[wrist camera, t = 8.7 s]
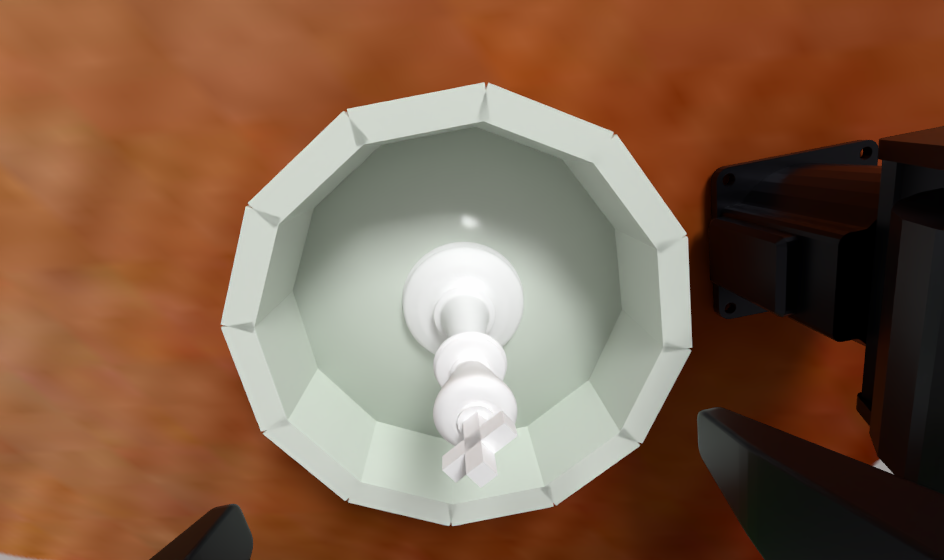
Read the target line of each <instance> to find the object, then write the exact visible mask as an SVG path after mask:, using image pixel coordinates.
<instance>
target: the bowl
mask: <svg viewBox="0 0 944 560" xmlns="http://www.w3.org/2000/svg"><path fill="white" fill-rule="evenodd" d="M347 111H348V112H345V111H343V112H342V113H341V114H340V115H339V116H338V117H337V118H336V119H335V120H334V121H333V122H331V123H330V124H329V125H328V126H327V127H326V128H325V129H324V130H323V131H322V132H321V133H320V134H319V135H318V136H317V137H316V138H315V139H314V140H313V141H312V142H311V143H310V144H309V145H308V146H307V147H306V148H304V149H303V150H302V151H301V152H300V153H299V154H298V155H297V156H296V157H295V158H294V159H293V160H292V161H291V162H290V163H289V164H288V165H287V166H286V167H285V168H284V169H283V170H282V171H281V172H280V173H279V174H278V175H276V176H275V177H274V178H273V179H272V180H271V181H270V182H269V183H268V184H267V185H266V186H265V187H264V188H263V189H262V190H261V191H260V192H259V193H258V194H257V195H256V196H255V197H254V198H253V199H252V200H251V201H250V202H248V204H249V206H246V208H245V213H244V218H243V222H242V227H241V232H240V236H239V241H238V246H237V250H236V255H235V260H234V264H233V269H232V274H231V279H230V283H229V288H228V293H227V297H226V302H225V307H224V311H223V316H222V321H221V325H224V326H222V327H221V329H222V331H223V334H224V337H225V339H226V342H227V344H228V347H229V350H230V352H231V355H232V357H233V360H234V363H235V365H236V368H237V370H238V373H239V376H240V378H241V381H242V383H243V386H244V389H245V391H246V394H247V396H248V399H249V402H250V404H251V407H252V409H253V412H254V415H255V417H256V420H257V422H258V425H259V428H260V430H261V431H264V433H263V434H264V435H265V436H266V437H267V438H269V439H270V440H271V441H272V442H273V443H275V444H276V445H277V446H278V447H280V448H281V449H282V450H283V451H284V452H286V453H287V454H288V455H289V456H291V457H292V458H293V459H294V460H295V461H297V462H298V463H299V464H300V465H302V466H303V467H304V468H305V469H306V470H308V471H309V472H310V473H311V474H313V475H314V476H315V477H316V478H317V479H319V480H320V481H321V482H322V483H324V484H325V485H326V486H327V487H328V488H330V489H331V490H332V491H333V492H335V493H336V494H337V495H338V496H339V497H341V498H342V499H343V500H344V501H346V500H347V499H348V498H349V500H348V503H353V504H357V505H361V506H365V507H370V508H374V509H378V510H382V511H387V512H391V513H395V514H399V515H404V516H408V517H412V518H416V519H421V520H425V521H429V522H434V523H438V524H442V525H446V526H449V525H450V523H452V526H456V525H461V524H466V523H472V522H477V521H482V520H487V519H492V518H497V517H502V516H508V515H513V514H518V513H523V512H528V511H533V510H539V509H544V508H549V507H553V503H554V504H555V505H558V504H559V503H560V502H562V501H563V500H565V499H566V498H567V497H569V496H570V495H572V494H573V493H574V492H576V491H577V490H579V489H580V488H582V487H583V486H584V485H586V484H587V483H589V482H590V481H591V480H593V479H594V478H596V477H597V476H598V475H600V474H601V473H603V472H604V471H605V470H607V469H608V468H610V467H611V466H612V465H614V464H615V463H617V462H618V461H620V460H621V459H622V458H624V457H625V456H627V455H628V454H629V453H631V452H632V451H634V450H635V449H636V448H638V447H639V446H640V444H639V443H643V441H644V439H645V438H646V436H647V434H648V432H649V430H650V428H651V426H652V424H653V422H654V421H655V419H656V417H657V415H658V413H659V411H660V409H661V407H662V405H663V404H664V402H665V400H666V398H667V396H668V394H669V392H670V390H671V388H672V387H673V385H674V383H675V381H676V379H677V377H678V375H679V373H680V371H681V370H682V368H683V366H684V364H685V362H686V360H687V358H688V356H689V355H690V353H691V350H690V349H689V348H692V327H691V303H690V278H689V253H688V237H686V236H685V235H686V234H687V233H686V232H685V231H684V229H683V228H682V226H681V225H680V223H679V222H678V221H677V219H676V218H675V216H674V215H673V214H672V212H671V211H670V209H669V208H668V207H667V205H666V204H665V202H664V201H663V199H662V198H661V197H660V195H659V194H658V192H657V191H656V190H655V188H654V187H653V185H652V184H651V182H650V181H649V180H648V178H647V177H646V175H645V174H644V173H643V171H642V170H641V168H640V167H639V165H638V164H637V163H636V161H635V160H634V158H633V157H632V156H631V154H630V153H629V151H628V150H627V148H626V147H625V146H624V144H623V143H622V141H621V140H620V139H619V137H618V136H617V135H613V133H614V132H612V131H609V130H607V129H604V128H602V127H599V126H597V125H594V124H592V123H589V122H587V121H584V120H582V119H579V118H576V117H574V116H571V115H569V114H566V113H564V112H561V111H559V110H556V109H554V108H551V107H549V106H546V105H544V104H541V103H538V102H536V101H533V100H531V99H528V98H526V97H523V96H521V95H518V94H516V93H513V92H511V91H508V90H506V89H503V88H500V87H498V86H495V85H493V84H490V83H488V84H487V86H486V87H485V83H479V84H474V85H469V86H463V87H458V88H453V89H448V90H443V91H438V92H433V93H427V94H422V95H417V96H412V97H407V98H402V99H397V100H391V101H386V102H381V103H376V104H371V105H366V106H361V107H355V108H350V109H347ZM454 242H473V243H478V244H482V245H485V246H488V247H490V248H492V249H494V250H496V251H497V252H499V253H500V254H502V255H503V256H504V257H505V258H506V259H507V260H508V261H509V262H510V263H511V264H512V266H513V267H514V268H515V270H516V272H517V274H518V276H519V278H520V281H521V284H522V288H523V297H524V309H523V315H522V319H521V322H520V324H519V326H518V328H517V330H516V332H515V334H514V335H513V336H512V338H511V339H510V340H509V341H508V342H507V343H506V344H505V345H504V346H503V347H502V348H503V349H504V351H505V354H506V358H507V370H506V374H505V377H504V379H503V382H504V383H505V384H506V385H507V386H508V387H509V388H510V390H511V391H512V393H513V395H514V397H515V399H516V403H517V419H516V423H515V426H516V430H517V435H518V436H517V437H516V438H515V439H513V440H512V441H511V442H509V443H508V444H507V445H505V446H504V447H503V448H501V449H500V450H499V451H497V452H496V453H495V460H496V467H497V473H498V475H497V476H496V477H495V478H493V479H492V480H491V481H489V482H488V483H487V484H485V485H484V486H483V487H481V488H480V487H479V486H478V485H477V484H476V483H475V482H474V481H473V480H472V479H470V478H469V477H468V476H467V475H466V476H464V477H463V478H462V479H460V480H459V481H458V482H455V481H453V480H452V479H451V478H450V477H449V476H448V475H447V474H446V473H445V472H443V471H442V456H443V455H445V454H446V453H447V452H448V451H450V450H451V449H452V448H454V447H455V446H454V445H452V444H450V443H449V442H447V441H446V440H445V439H444V438H443V437H442V436H441V435H440V433H439V432H438V430H437V428H436V426H435V423H434V419H433V407H434V403H435V400H436V397H437V395H438V393H439V392H440V390H441V388H442V387H441V386H440V384H439V383H438V381H437V379H436V377H435V375H434V370H433V361H434V357H435V354H433V353H431V352H429V351H428V350H426V349H425V348H424V347H423V346H421V345H420V344H419V343H418V342H417V341H416V339H415V338H414V337H413V335H412V334H411V332H410V331H409V329H408V327H407V324H406V321H405V318H404V313H403V306H402V294H403V288H404V284H405V281H406V279H407V276H408V274H409V272H410V271H411V269H412V268H413V266H414V265H415V264H416V263H417V262H418V261H419V260H420V259H421V258H422V257H423V256H424V255H425V254H427V253H428V252H430V251H431V250H433V249H435V248H437V247H439V246H442V245H445V244H449V243H454ZM638 442H639V443H638Z"/></svg>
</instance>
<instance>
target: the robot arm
mask: <svg viewBox="0 0 944 560" xmlns="http://www.w3.org/2000/svg"><path fill="white" fill-rule="evenodd" d="M862 149H863V155H862V156H861V157H860V151H861V150H862ZM878 159H881V160H882V166H877V162H878ZM726 174H728V175H729V181H728V182H727V184H725V185H724V184H723V177H724V176H725V175H726ZM711 215H712V220H711V222H710V224H709V259H710V280H711V281H712V282H713V299H714V310H715V312H716V313H717V314H718V315H720V316H721V317H723V318H726V319H732V318H737V317H742V316H747V315H753V314H758V313H763V312H768V311H769V312H771V313H773V314H775V315H777V316H780V317H784V316H787V317H789V318H791V319H793V320H795V321H797V322H799V323H801V324H803V325H805V326H807V327H809V328H811V329H813V330H815V331H817V332H819V333H821V334H823V335H825V336H827V337H829V338H831V339H833V340H835V341H837V342H843V341H848V340H853V341H855V342H857V343H860V344H862V345H864V346H866V350H865V362H864V373H863V384H862V392H860V393H858V395H857V405H856V409H857V411H858V412H859V414H860V415H861V416H862V417H863V419H864V420H865V421H866V422H867V423H868V425H869V426H870V431H869V434H870V437H871V439H872V442H873V445H874V448H875V451H876V453H877V456H878V457H879V458H880V459H881V461H882V462H883V463H885V465H886V466H887V467H888V468H889V469H890V470H891V471H892V472H893V474H891V473H888V472H886V471H883V470H881V469H878V468H876V467H873V466H870V465H868V464H865V463H863V462H860V461H858V460H855V459H853V458H850V457H847V456H845V455H842V454H840V453H837V452H835V451H832V450H829V449H827V448H824V447H822V446H819V445H817V444H814V443H812V442H809V441H806V440H804V439H801V438H799V437H796V436H794V435H791V434H788V433H786V432H783V431H781V430H778V429H776V428H773V427H771V426H768V425H765V424H763V423H760V422H758V421H755V420H753V419H750V418H748V417H745V416H742V415H740V414H737V413H735V412H732V411H730V410H727V409H724V408H721V407H716V408H711V409H706V410H702V411H700V412H699V413H698V417H697V424H698V446H699V451H700V455H701V457H702V459H703V461H704V463H705V464H706V466H707V468H708V469H709V471H710V473H711V475H712V476H713V478H714V480H715V481H716V483H717V485H718V486H719V488H720V490H721V492H722V493H723V495H724V497H725V498H726V500H727V502H728V504H729V505H730V507H731V509H732V510H733V512H734V514H735V515H736V517H737V519H738V521H739V522H740V524H741V525H742V527H743V529H744V530H745V532H746V534H747V535H748V537H749V538H750V539H751V541H752V542H753V544H754V545H755V547H756V548H757V550H758V551H759V552H760V554H761V555H762V556H763V558H764V559H765V560H944V126H942V127H937V128H931V129H926V130H921V131H916V132H911V133H906V134H901V135H895V136H890V137H885V138H881V139H879V147H878V145H877V144H876V142H874V141H872V140H857V141H851V142H846V143H841V144H836V145H831V146H826V147H821V148H815V149H810V150H805V151H800V152H795V153H790V154H785V155H779V156H774V157H769V158H764V159H759V160H754V161H749V162H743V163H738V164H733V165H728V166H723V167H720V168H718V169H717V170H716V171H715V172H714V173H713V175H712V177H711ZM728 303H731V305H730V307H729V308H728V309H727V310H725V306H726V305H727V304H728ZM252 549H253V538H252V534H251V532H250V529H249V527H248V525H247V522H246V520H245V518H244V515H243V513H242V511H241V509H240V507H239V506H238V505H236V504H229V505H224V506H219V507H215V508H213V509H211V510H210V511H209V512H207V513H206V514H205V515H204V516H203V517H201V518H200V519H199V520H198V521H196V522H195V523H194V524H193V525H191V526H190V527H189V528H188V529H186V530H185V531H184V532H183V533H182V534H180V535H179V536H178V537H177V538H175V539H174V540H173V541H172V542H170V543H169V544H168V545H167V546H165V547H164V548H163V549H162V550H161V551H159V552H158V553H157V554H156V555H154V556H153V557H152V558H151V559H149V560H250V557H251V553H252Z"/></svg>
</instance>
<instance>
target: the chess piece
mask: <svg viewBox="0 0 944 560" xmlns="http://www.w3.org/2000/svg"><path fill="white" fill-rule="evenodd" d="M402 306H403V313H404V318H405V321H406V324H407V327H408V329H409V331H410V332H411V334H412V335H413V337H414V338H415V339H416V341H417V342H418V343H419V344H420V345H421V346H423V347H424V348H425V349H426V350H428V351H429V352H431V353H433V354H435V357H434V361H433V370H434V375H435V377H436V379H437V381H438V383H439V384H440V386H441V387H442V388H441V390H440V392H439V393H438V395H437V397H436V400H435V403H434V407H433V419H434V423H435V426H436V428H437V430H438V432H439V433H440V435H441V436H442V437H443V438H444V439H445V440H446V441H447V442H449V443H450V444H452V445H454V446H455V447H454V448H452V449H451V450H450V451H448V452H447V453H446V454H445V455H443V456H442V471H443V472H445V473H446V474H447V475H448V476H449V477H450V478H451V479H452V480H453V481H455V482H458V481H459V480H460V479H462V478H463V477H464V476H466V475H467V476H468V477H469V478H470V479H472V480H473V481H474V482H475V483H476V484H477V485H478V486H479V487H480V488H481V487H483V486H484V485H485V484H487V483H488V482H489V481H491V480H492V479H493V478H495V477H496V476H497V475H498V473H497V467H496V460H495V453H496V452H497V451H499V450H500V449H501V448H503V447H504V446H505V445H507V444H508V443H509V442H511V441H512V440H513V439H515V438H516V437H517V436H518V435H517V430H516V426H515V423H516V419H517V403H516V399H515V397H514V395H513V393H512V391H511V390H510V388H509V387H508V386H507V385H506V384H505V383H504V382H503V379H504V377H505V374H506V370H507V358H506V354H505V351H504V349H503V348H502V347H503V346H504V345H505V344H506V343H507V342H508V341H509V340H510V339H511V338H512V336H513V335H514V334H515V332H516V330H517V328H518V326H519V324H520V322H521V319H522V315H523V309H524V297H523V288H522V284H521V281H520V278H519V276H518V274H517V272H516V270H515V268H514V267H513V266H512V264H511V263H510V262H509V261H508V260H507V259H506V258H505V257H504V256H503V255H502V254H500V253H499V252H497V251H496V250H494V249H492V248H490V247H488V246H485V245H482V244H478V243H473V242H454V243H449V244H445V245H442V246H439V247H437V248H435V249H433V250H431V251H430V252H428V253H427V254H425V255H424V256H423V257H422V258H421V259H420V260H419V261H418V262H417V263H416V264H415V265H414V266H413V268H412V269H411V271H410V272H409V274H408V276H407V279H406V281H405V284H404V288H403V294H402Z"/></svg>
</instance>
